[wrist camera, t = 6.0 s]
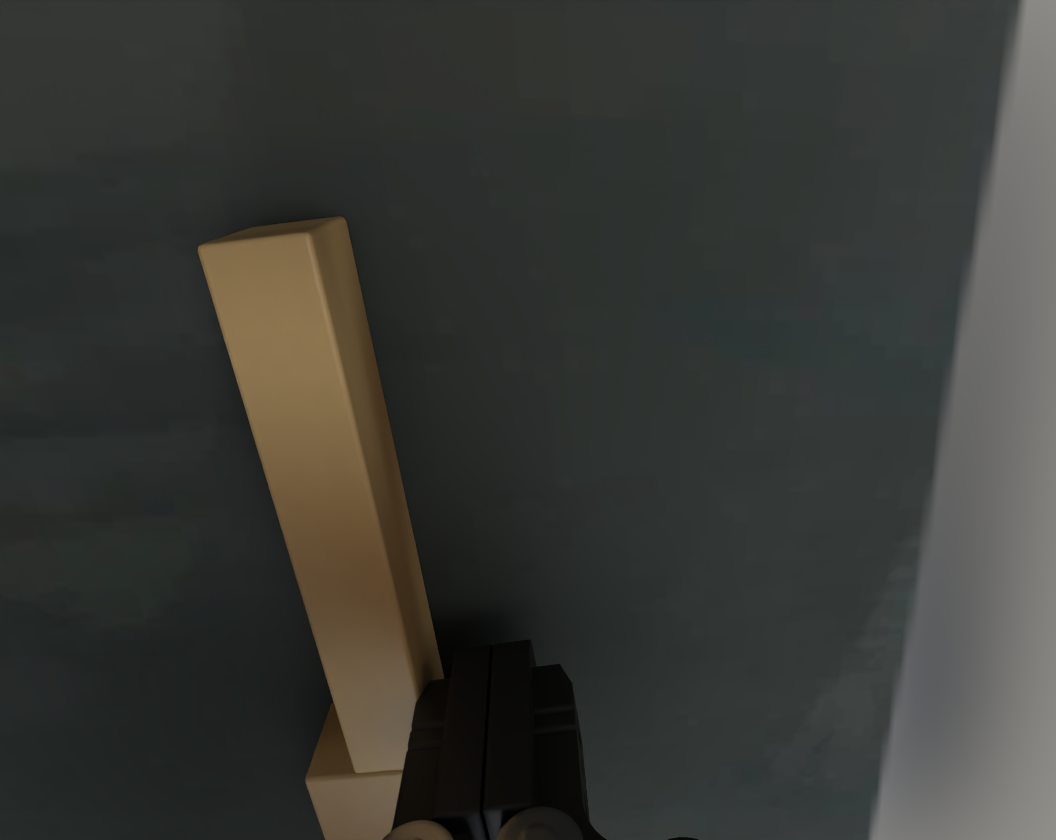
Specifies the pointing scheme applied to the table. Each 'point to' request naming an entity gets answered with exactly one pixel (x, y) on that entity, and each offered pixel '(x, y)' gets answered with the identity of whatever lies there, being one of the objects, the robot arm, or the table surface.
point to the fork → (332, 500)
